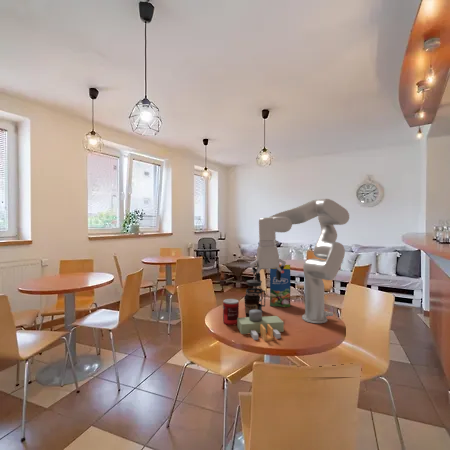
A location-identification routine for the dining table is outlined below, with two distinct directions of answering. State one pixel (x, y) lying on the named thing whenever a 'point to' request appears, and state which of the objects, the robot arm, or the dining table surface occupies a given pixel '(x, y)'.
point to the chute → (264, 335)
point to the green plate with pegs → (253, 324)
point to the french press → (256, 289)
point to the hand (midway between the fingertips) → (268, 280)
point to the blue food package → (280, 287)
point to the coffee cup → (251, 302)
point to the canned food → (230, 311)
